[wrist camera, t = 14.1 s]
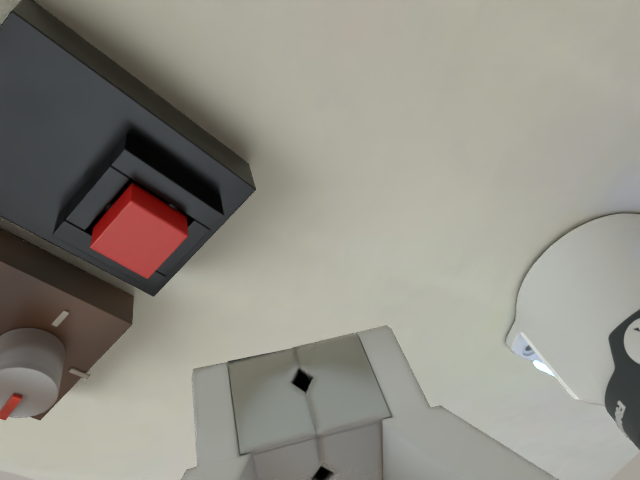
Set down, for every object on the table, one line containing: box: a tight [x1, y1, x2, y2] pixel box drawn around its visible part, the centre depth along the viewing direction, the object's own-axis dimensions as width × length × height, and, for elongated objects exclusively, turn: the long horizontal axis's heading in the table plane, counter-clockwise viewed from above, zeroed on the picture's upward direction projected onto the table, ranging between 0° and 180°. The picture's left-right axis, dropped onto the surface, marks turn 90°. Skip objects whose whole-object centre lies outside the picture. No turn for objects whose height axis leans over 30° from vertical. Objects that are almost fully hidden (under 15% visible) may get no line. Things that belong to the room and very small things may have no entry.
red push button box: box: [0, 0, 256, 296], centre depth 32 cm, size 15×10×6 cm, turn 45°
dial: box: [0, 328, 66, 420], centre depth 35 cm, size 4×4×4 cm
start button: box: [90, 183, 188, 279], centre depth 30 cm, size 4×4×2 cm
